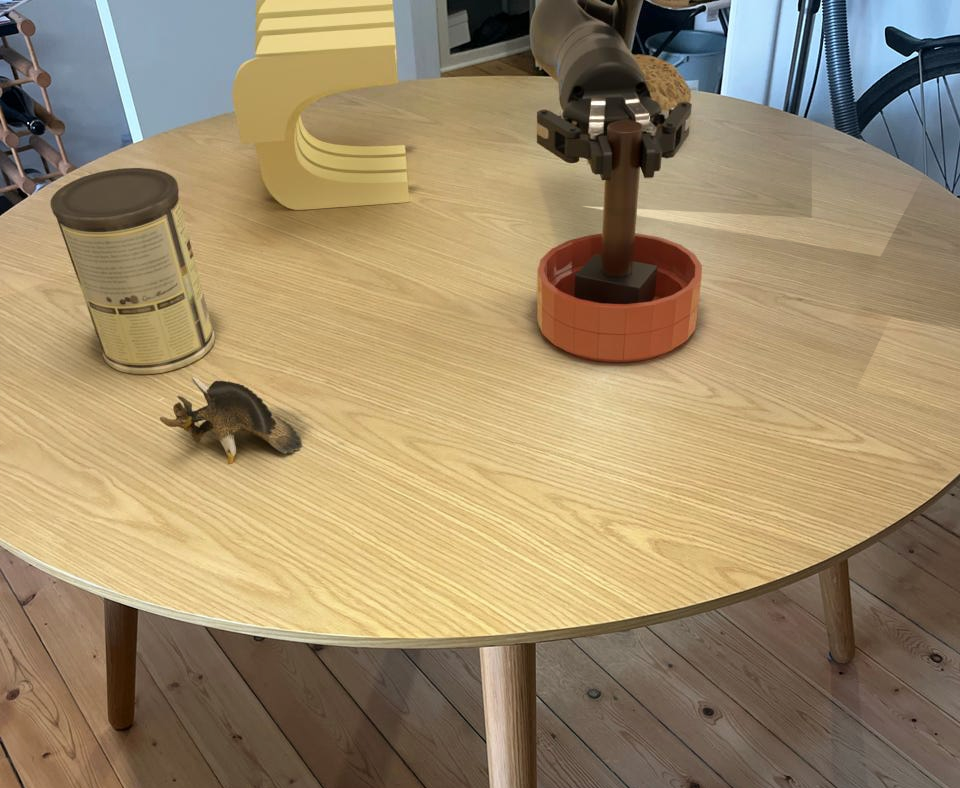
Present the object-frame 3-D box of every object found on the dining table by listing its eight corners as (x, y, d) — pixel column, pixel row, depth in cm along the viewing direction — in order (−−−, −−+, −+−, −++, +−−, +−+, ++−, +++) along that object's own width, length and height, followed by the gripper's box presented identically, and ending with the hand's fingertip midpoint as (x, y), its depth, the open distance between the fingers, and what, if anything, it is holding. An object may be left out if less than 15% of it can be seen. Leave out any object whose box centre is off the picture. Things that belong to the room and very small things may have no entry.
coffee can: (85, 343, 95) (31, 190, 85) (186, 307, 99) (146, 157, 89) (130, 388, 89) (77, 229, 79) (235, 348, 93) (198, 192, 83)
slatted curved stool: (278, 141, 129) (250, -22, 117) (404, 132, 130) (389, -31, 117) (261, 245, 108) (224, 59, 96) (411, 234, 109) (394, 48, 96)
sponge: (686, 164, 122) (703, 73, 132) (678, 101, 115) (697, 10, 126) (579, 178, 126) (603, 89, 136) (566, 117, 120) (593, 28, 130)
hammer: (655, 297, 92) (671, 121, 81) (636, 320, 89) (650, 141, 79) (593, 284, 94) (601, 111, 83) (573, 306, 92) (579, 130, 81)
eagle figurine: (169, 472, 78) (279, 454, 76) (149, 377, 77) (260, 356, 75) (212, 466, 85) (313, 450, 84) (194, 380, 84) (296, 361, 82)
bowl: (716, 305, 95) (723, 248, 91) (662, 380, 86) (667, 320, 82) (576, 278, 100) (577, 222, 96) (512, 346, 91) (510, 288, 87)
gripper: (524, 50, 90) (540, 121, 78) (683, 41, 90) (724, 111, 78) (525, 139, 95) (540, 218, 83) (674, 131, 95) (711, 209, 83)
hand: (629, 166), depth 80 cm, fingers closed on hammer, 3 cm apart
